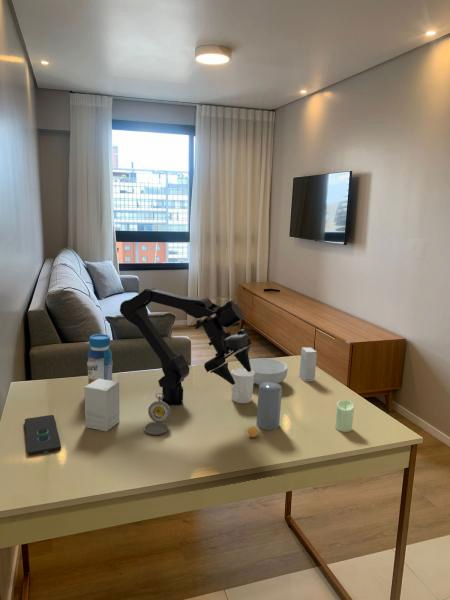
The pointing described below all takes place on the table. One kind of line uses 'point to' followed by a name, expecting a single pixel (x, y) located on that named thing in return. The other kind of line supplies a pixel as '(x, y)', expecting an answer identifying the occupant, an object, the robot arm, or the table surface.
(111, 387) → the supplement box
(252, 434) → the amber ball
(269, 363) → the cereal bowl
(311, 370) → the skincare box
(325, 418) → the table surface
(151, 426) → the pocket watch
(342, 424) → the candle
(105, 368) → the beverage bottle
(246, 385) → the white cup
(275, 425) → the grey faceted canister
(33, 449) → the smart home device
